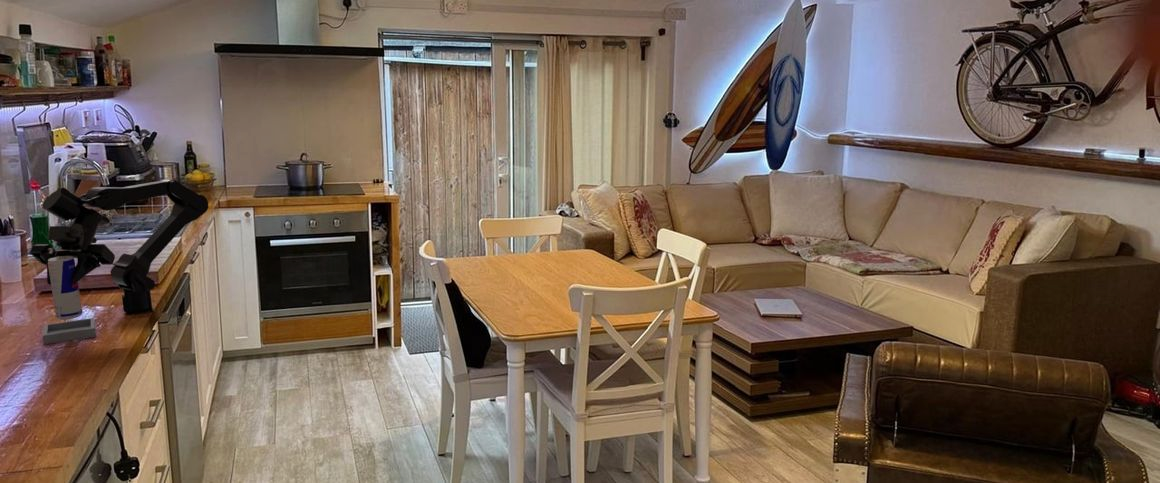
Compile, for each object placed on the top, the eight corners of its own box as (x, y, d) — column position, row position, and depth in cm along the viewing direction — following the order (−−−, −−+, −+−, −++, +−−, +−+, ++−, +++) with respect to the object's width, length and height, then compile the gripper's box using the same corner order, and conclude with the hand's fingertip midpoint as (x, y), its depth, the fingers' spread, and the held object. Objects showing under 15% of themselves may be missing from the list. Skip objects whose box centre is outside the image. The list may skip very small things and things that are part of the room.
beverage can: (71, 320, 205) (62, 260, 202) (50, 320, 206) (41, 260, 202) (88, 314, 210) (79, 255, 207) (68, 313, 211) (59, 255, 208)
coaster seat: (95, 325, 216) (94, 317, 215) (95, 336, 207) (94, 328, 206) (45, 332, 211) (44, 324, 210) (44, 344, 201) (42, 335, 201)
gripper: (28, 212, 207) (2, 267, 199) (101, 211, 206) (78, 266, 197) (55, 237, 216) (31, 290, 208) (124, 236, 215) (103, 290, 207)
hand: (60, 284), depth 205 cm, fingers closed on beverage can, 5 cm apart
